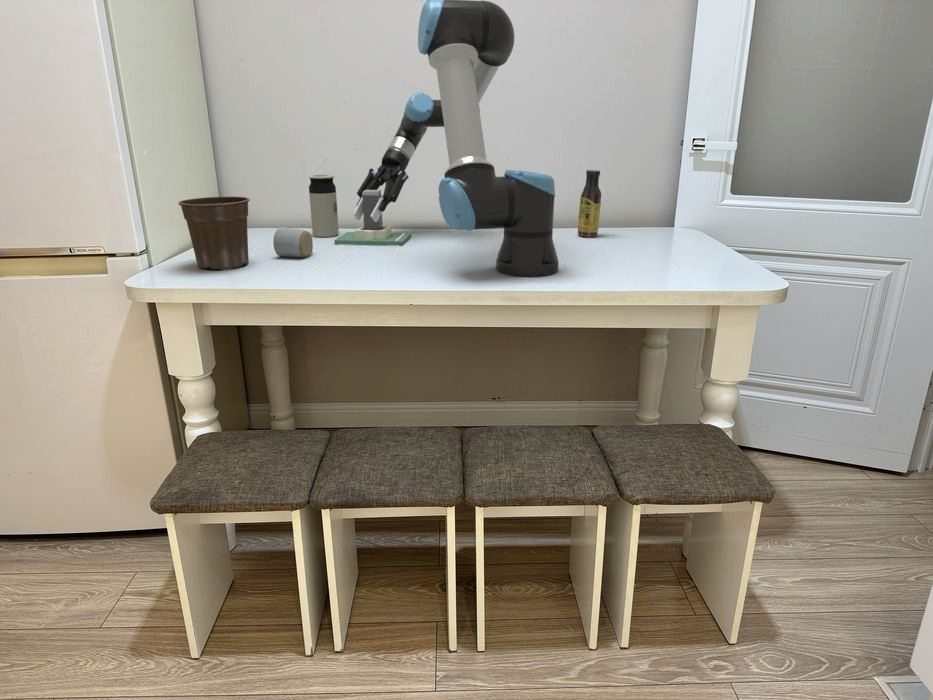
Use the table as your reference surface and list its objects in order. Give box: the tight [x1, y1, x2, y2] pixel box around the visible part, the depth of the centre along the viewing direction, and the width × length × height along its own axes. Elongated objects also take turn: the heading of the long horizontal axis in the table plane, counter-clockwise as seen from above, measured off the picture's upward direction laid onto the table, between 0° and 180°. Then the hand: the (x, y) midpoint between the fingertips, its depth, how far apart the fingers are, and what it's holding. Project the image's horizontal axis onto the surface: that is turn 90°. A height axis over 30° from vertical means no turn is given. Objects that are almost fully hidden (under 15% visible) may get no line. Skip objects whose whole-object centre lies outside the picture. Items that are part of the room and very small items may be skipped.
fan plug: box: [362, 189, 384, 230], centre depth 190 cm, size 4×4×11 cm
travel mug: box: [308, 174, 340, 238], centre depth 198 cm, size 8×8×18 cm
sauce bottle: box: [577, 168, 602, 238], centre depth 196 cm, size 6×6×20 cm
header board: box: [333, 224, 412, 247], centre depth 192 cm, size 14×20×4 cm
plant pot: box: [178, 196, 251, 270], centre depth 159 cm, size 16×16×16 cm
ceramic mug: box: [273, 226, 314, 258], centre depth 172 cm, size 11×8×8 cm
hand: (364, 218), depth 188 cm, fingers closed on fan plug, 6 cm apart
